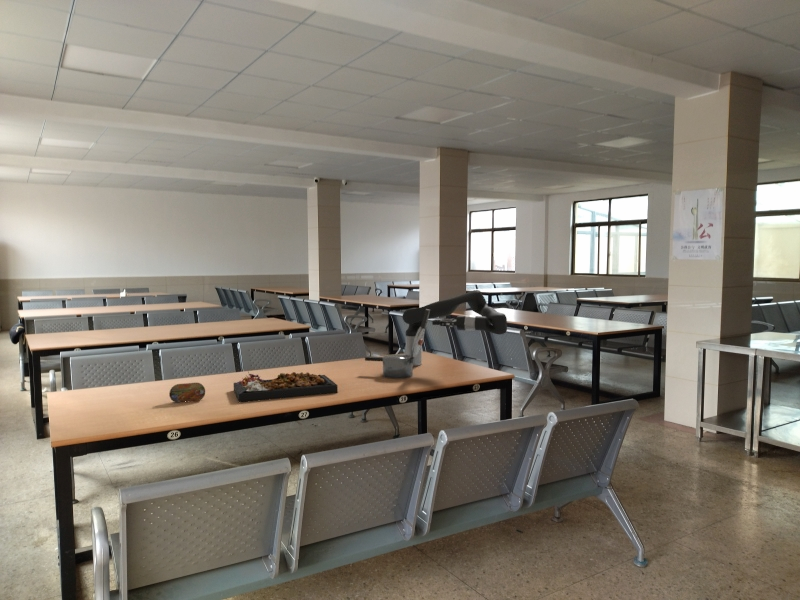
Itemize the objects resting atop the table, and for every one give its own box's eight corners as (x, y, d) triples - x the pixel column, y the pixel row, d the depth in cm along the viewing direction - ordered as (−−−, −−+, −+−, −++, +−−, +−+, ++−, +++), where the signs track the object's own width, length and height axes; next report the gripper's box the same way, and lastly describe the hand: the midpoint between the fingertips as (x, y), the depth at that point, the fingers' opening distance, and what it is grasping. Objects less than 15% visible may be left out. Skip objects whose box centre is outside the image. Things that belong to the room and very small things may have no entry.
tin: (169, 403, 254) (168, 385, 253) (170, 402, 257) (169, 383, 256) (205, 401, 258) (204, 382, 258) (205, 399, 261) (205, 381, 261)
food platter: (239, 404, 255) (238, 381, 254) (233, 391, 278) (233, 370, 277) (337, 394, 271) (337, 372, 270) (325, 383, 294) (324, 363, 293)
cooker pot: (417, 373, 314) (417, 355, 313) (409, 379, 299) (409, 360, 298) (371, 370, 322) (370, 353, 321) (361, 376, 306) (360, 358, 306)
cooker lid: (416, 354, 314) (421, 356, 313) (407, 360, 298) (413, 362, 297) (428, 307, 310) (434, 308, 309) (420, 310, 294) (426, 311, 293)
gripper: (469, 314, 296) (436, 313, 301) (464, 317, 282) (429, 316, 287) (469, 328, 296) (436, 327, 301) (464, 332, 283) (430, 331, 288)
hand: (433, 322), depth 294 cm, fingers open, 3 cm apart
